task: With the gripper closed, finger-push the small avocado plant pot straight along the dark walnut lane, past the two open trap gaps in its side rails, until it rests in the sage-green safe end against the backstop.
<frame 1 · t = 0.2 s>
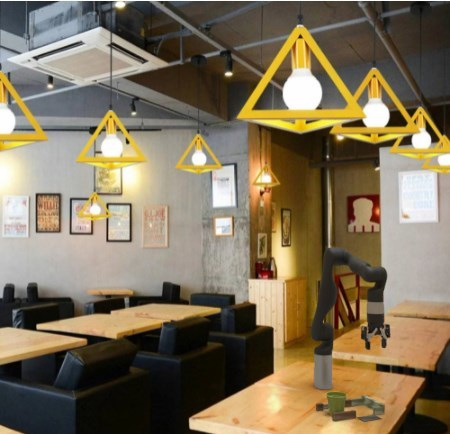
hand: (375, 348, 230), 29 cm above the table, fingers open, 8 cm apart
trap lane: (350, 412, 233), on the table
plant pot: (336, 414, 230), on the table
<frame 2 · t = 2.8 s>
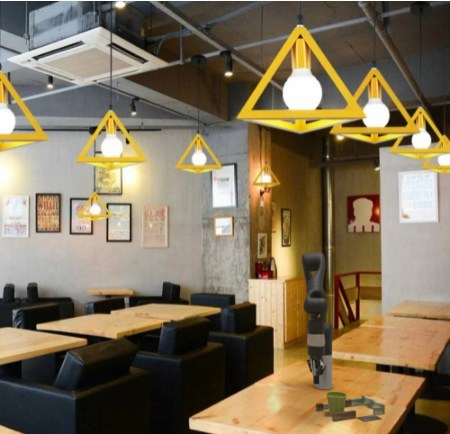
hand: (316, 383, 227), 14 cm above the table, fingers closed
nothing on the table moved.
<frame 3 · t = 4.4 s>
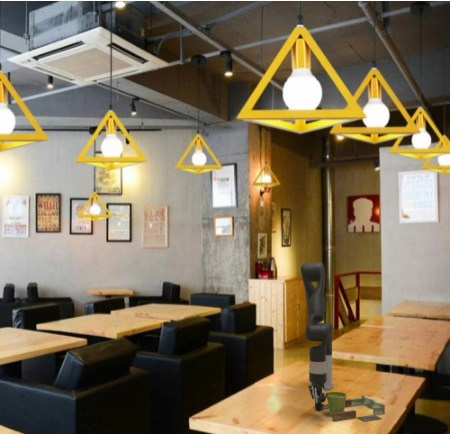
hand: (318, 410, 227), 2 cm above the table, fingers closed
nothing on the table moved.
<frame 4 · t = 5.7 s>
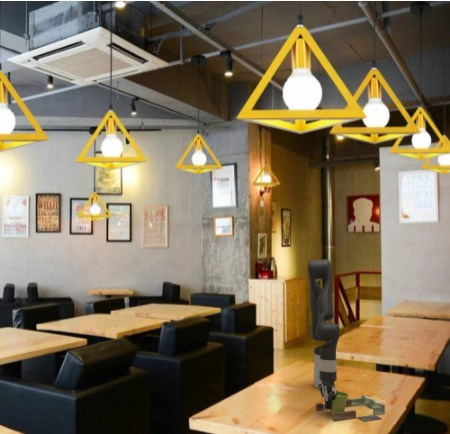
hand: (328, 409, 229), 3 cm above the table, fingers closed
plant pot: (336, 413, 230), on the table, touching gripper
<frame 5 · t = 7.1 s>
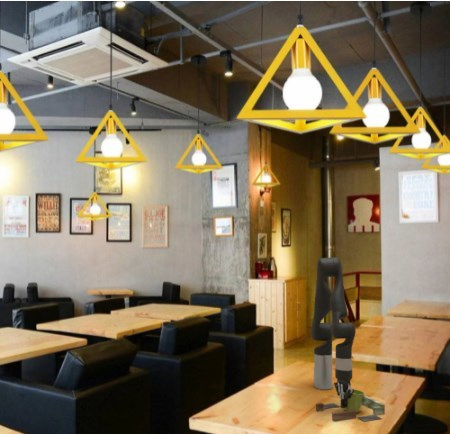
hand: (344, 406, 232), 3 cm above the table, fingers closed
plant pot: (351, 411, 233), on the table, touching gripper
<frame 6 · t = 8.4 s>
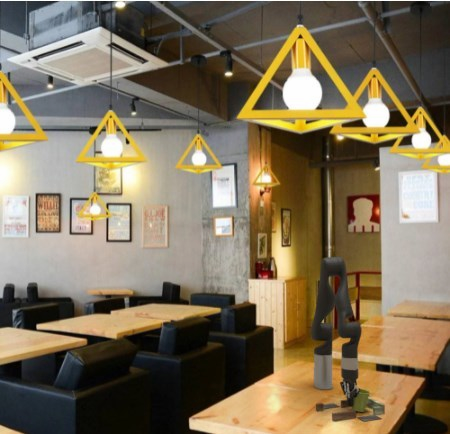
hand: (350, 406, 233), 3 cm above the table, fingers closed
plant pot: (357, 410, 234), on the table, touching gripper
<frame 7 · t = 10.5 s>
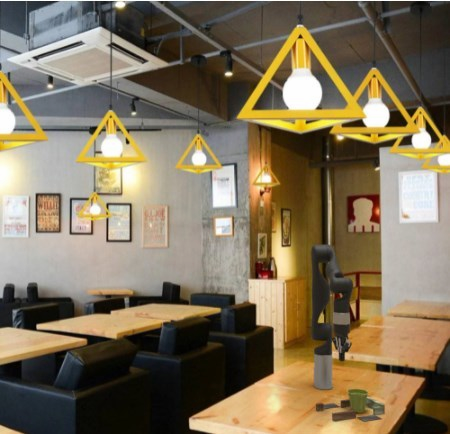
hand: (341, 360, 234), 23 cm above the table, fingers closed
plant pot: (357, 411, 234), on the table
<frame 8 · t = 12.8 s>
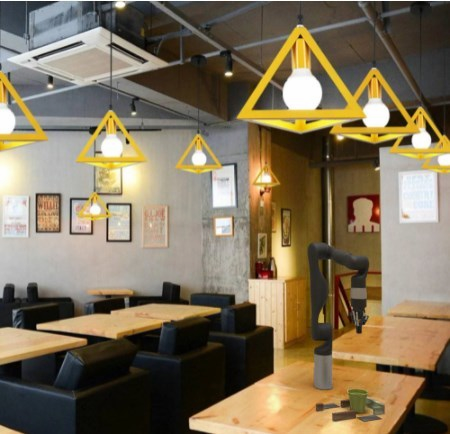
hand: (359, 333, 249), 32 cm above the table, fingers closed
nothing on the table moved.
at the end: plant pot inside the target area (2.2 cm from its centre), on the table; plant pot tilted 0°; the gripper is holding nothing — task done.
